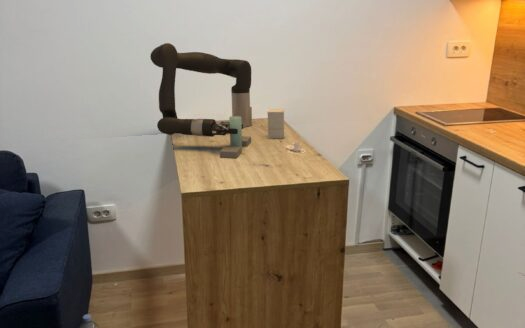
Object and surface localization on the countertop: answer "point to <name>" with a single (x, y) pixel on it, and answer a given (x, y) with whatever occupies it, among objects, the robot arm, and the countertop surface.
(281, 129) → the supplement box
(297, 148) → the teacup and saucer
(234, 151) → the rectangular blocks
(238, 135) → the teal green tall block
